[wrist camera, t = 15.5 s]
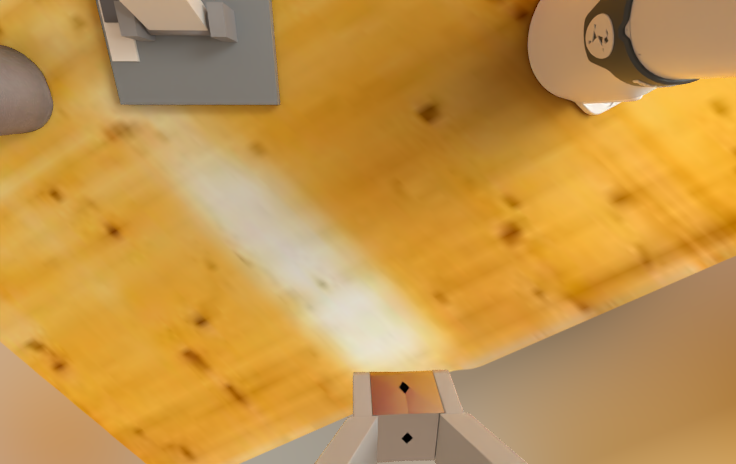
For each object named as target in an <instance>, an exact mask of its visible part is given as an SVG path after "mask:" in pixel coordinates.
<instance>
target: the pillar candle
mask: <svg viewBox="0 0 736 464" xmlns="http://www.w3.org/2000/svg"><path fill="white" fill-rule="evenodd" d="M52 110H53V101H52V97H51V94H50V90H49V87H48V85H47V82H46V80H45V77H44V76H43V74H42V72H41V71H40V70H39V68H38V67H37V66H36V65H35V64H34V63H33V62H32V61H31V60H29V59H28V58H27V57H26V56H25V55H23V54H22V53H20V52H18V51H16V50H14V49H12V48H9V47H7V46H3V45H0V136H1V135H9V134H19V133H26V132H31V131H35V130H37V129H39V128H41V127H42V126H44V125H45V124H46V123H47V121H48V120H49V118H50V116H51V113H52Z"/></svg>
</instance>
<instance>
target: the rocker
mask: <svg viewBox="0 0 736 464" xmlns="http://www.w3.org/2000/svg"><path fill="white" fill-rule="evenodd" d="M119 1H120V2H121V3H122V4H123V5H124V6H125V7H126V8H127V9H128V10H129V11H130V12H131V13H132V14H133V15H134V16H135V17H136V18H137V19H138V20H139V21H140V22H141V23H142V24H143V25H144V26H145V27H146V29H147V31H148V32H149V34H151V35H191V36H211V34H210V27H209V20H208V13H207V9H206V7H205V6H204V4H203V3H202V1H201V0H119Z"/></svg>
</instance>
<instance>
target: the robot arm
mask: <svg viewBox="0 0 736 464" xmlns="http://www.w3.org/2000/svg"><path fill="white" fill-rule="evenodd" d="M528 55H529V61H530V65H531V68H532V70H533V72H534V74H535V76H536V78H537V80H538V81H539V82H540V84H541V85H542V86H543V87H544V88H545V89H546V90H548V91H549V92H551V93H552V94H554V95H556V96H558V97H561V98H565V99H568V100H571V101H573V102H575V103H576V104H577V105H578V106H579V107H580V108H581V109H582V110H583V111H584V112H585V113H587V114H589V115H597V114H600V113H603V112H604V111H606V110H608V109H610V108H612V107H613V106H615V105H617V104H619V103H621V102H628V101H636V100H639V99H641V98H642V96H643V95H644V94H647V93H649V92H651V91H652V90H654V89H656V88H657V87H670V86H675V85H680V84H686V83H690V82H694V81H697V80H699V79H702V78H722V77H736V0H540V2H539V3H538V5H537V7H536V10H535V12H534V15H533V17H532V20H531V24H530V28H529V34H528ZM405 460H407V461H408V460H409V461H413V460H435V463H436V464H528V463H527V462H525V461H524V460H523V459H522V458H521V457H519V456H518V455H517V454H516V453H515V452H514V451H513V450H511V449H510V448H509V447H508V446H507V445H506V444H504V443H503V442H502V441H501V440H500V439H499V438H498V437H496V436H495V435H494V434H493V433H492V432H490V431H489V430H488V429H487V428H486V427H485V426H483V425H482V424H481V423H480V422H479V421H478V420H477V419H475V418H474V417H473V416H472V415H471V414H470V413H464V412H463V409H462V406H461V403H460V401H459V398H458V395H457V392H456V389H455V386H454V384H453V381H452V378H451V375H450V372H449V371H448V370H432V371H408V372H370V374H369V373H367V372H354V373H353V417H348V418H347V419H346V421H345V422H344V423H343V425H342V426H341V428H340V429H339V430H338V432H337V433H336V435H335V436H334V437H333V439H332V440H331V441H330V443H329V444H328V446H327V447H326V448H325V450H324V451H323V453H322V454H321V455H320V457H319V458H318V459H317V461H316V462H315V464H377V463H378V462H392V461H405Z"/></svg>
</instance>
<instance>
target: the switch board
mask: <svg viewBox="0 0 736 464" xmlns="http://www.w3.org/2000/svg"><path fill="white" fill-rule="evenodd" d="M201 1H202V3H203V4H204V6H205V7H206V9H207V13H208V20H209V27H210V34H211V36H191V35H151V34H149V32H148V31H147V29H146V27H145V26H144V25H143V24H142V23H141V22H140V21H139V20H138V19H137V18H136V17H135V16H134V15H133V14H132V13H131V12H130V11H129V10H128V9H127V8H126V7H125V6H124V5H123V4H122V3H121V2H120V1H119V0H96V4H97V8H98V12H99V16H100V20H101V24H102V29H103V33H104V37H105V41H106V45H107V49H108V53H109V58H110V62H111V66H112V70H113V74H114V78H115V82H116V87H117V91H118V95H119V99H120V103H121V104H135V105H280V96H279V84H278V73H277V61H276V49H275V37H274V25H273V13H272V1H271V0H201Z"/></svg>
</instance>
